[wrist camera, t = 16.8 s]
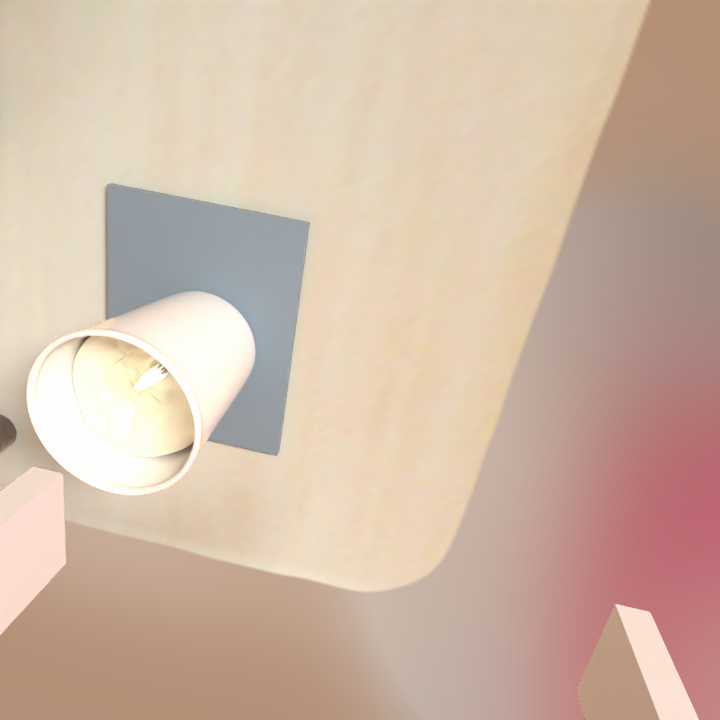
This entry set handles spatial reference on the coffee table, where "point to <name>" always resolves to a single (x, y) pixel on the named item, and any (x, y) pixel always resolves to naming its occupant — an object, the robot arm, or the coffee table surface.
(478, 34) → the coffee table surface
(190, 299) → the candle holder
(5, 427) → the spacer posts
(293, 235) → the mat
